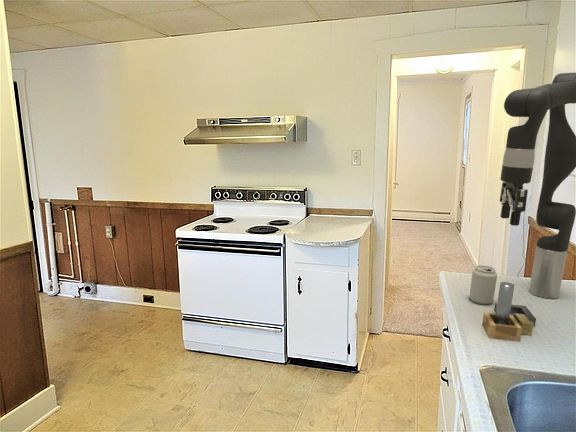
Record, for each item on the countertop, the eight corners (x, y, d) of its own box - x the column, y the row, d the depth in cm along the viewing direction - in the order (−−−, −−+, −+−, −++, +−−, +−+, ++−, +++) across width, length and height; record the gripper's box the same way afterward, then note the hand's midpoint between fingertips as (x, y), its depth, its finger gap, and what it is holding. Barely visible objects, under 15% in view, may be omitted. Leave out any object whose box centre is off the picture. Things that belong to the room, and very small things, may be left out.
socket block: (494, 309, 133) (495, 302, 133) (524, 312, 132) (525, 305, 131) (502, 323, 125) (503, 315, 124) (534, 326, 123) (536, 318, 123)
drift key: (512, 322, 125) (514, 311, 124) (523, 323, 124) (525, 312, 124) (520, 333, 118) (522, 322, 117) (531, 334, 118) (533, 323, 117)
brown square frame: (482, 324, 124) (483, 312, 123) (510, 327, 122) (512, 315, 121) (489, 337, 116) (491, 325, 115) (520, 341, 114) (522, 328, 113)
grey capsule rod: (491, 328, 121) (498, 281, 118) (504, 330, 120) (512, 282, 117) (494, 334, 118) (502, 286, 114) (508, 336, 117) (516, 287, 114)
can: (491, 307, 135) (496, 273, 132) (467, 302, 139) (471, 268, 136) (494, 299, 141) (499, 266, 138) (470, 294, 145) (475, 262, 142)
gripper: (542, 168, 106) (532, 228, 110) (523, 162, 120) (515, 216, 124) (511, 167, 108) (502, 226, 111) (495, 161, 121) (488, 215, 125)
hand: (509, 221), depth 117 cm, fingers open, 8 cm apart
